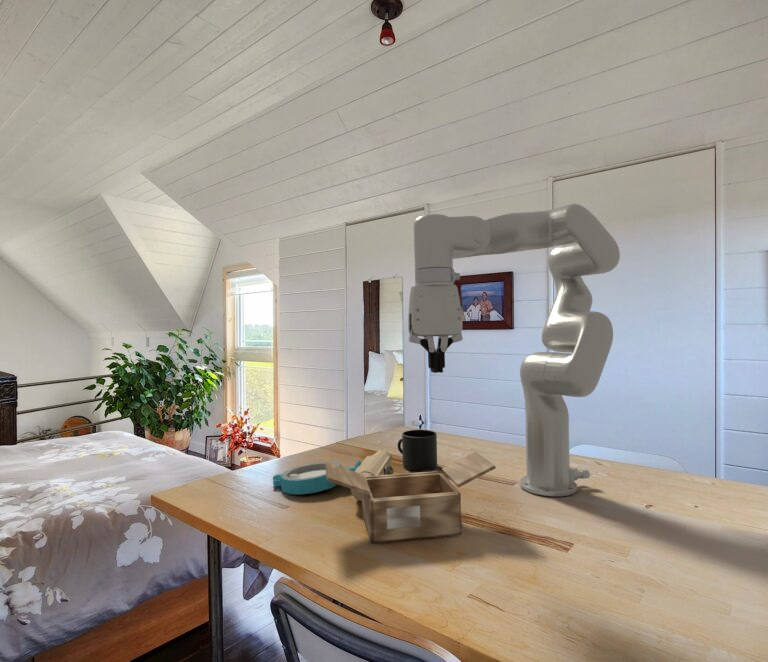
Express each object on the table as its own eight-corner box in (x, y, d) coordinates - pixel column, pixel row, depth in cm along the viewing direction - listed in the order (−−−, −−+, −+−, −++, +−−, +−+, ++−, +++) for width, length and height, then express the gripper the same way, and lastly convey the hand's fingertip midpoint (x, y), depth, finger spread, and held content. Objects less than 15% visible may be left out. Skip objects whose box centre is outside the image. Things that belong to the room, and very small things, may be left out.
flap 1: (363, 474, 93) (326, 461, 91) (370, 491, 83) (328, 477, 82) (362, 477, 93) (325, 464, 91) (368, 494, 83) (327, 480, 82)
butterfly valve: (250, 517, 101) (383, 509, 95) (246, 486, 101) (379, 476, 95) (297, 478, 127) (403, 470, 122) (294, 453, 128) (400, 444, 122)
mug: (407, 458, 135) (406, 427, 135) (443, 464, 127) (442, 432, 127) (388, 466, 127) (387, 433, 127) (425, 473, 120) (424, 439, 120)
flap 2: (457, 484, 85) (494, 465, 87) (441, 468, 95) (475, 451, 96) (458, 487, 85) (496, 468, 87) (443, 471, 95) (476, 453, 96)
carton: (441, 507, 97) (440, 470, 97) (463, 536, 83) (462, 494, 83) (362, 514, 95) (361, 476, 95) (371, 546, 81) (370, 502, 81)
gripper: (463, 280, 96) (466, 368, 96) (393, 281, 93) (395, 372, 94) (477, 276, 89) (479, 372, 89) (401, 277, 86) (404, 375, 86)
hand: (436, 371), depth 91 cm, fingers closed
